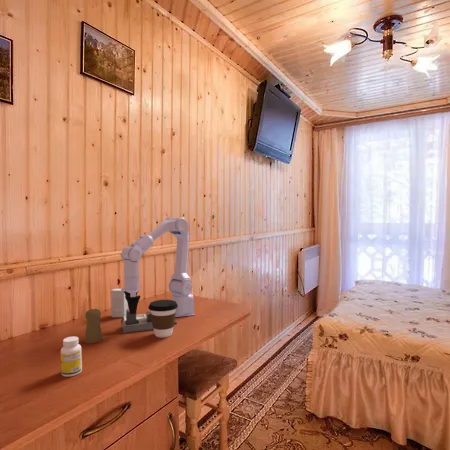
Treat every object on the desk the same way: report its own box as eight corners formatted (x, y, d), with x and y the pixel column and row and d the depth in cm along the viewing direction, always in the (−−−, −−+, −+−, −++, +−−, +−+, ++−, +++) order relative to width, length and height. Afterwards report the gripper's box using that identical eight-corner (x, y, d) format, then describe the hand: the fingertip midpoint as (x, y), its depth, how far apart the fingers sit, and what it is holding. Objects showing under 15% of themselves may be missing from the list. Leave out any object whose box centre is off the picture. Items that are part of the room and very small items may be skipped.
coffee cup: (183, 332, 125) (183, 301, 124) (165, 342, 115) (165, 308, 115) (161, 327, 130) (161, 297, 130) (142, 336, 120) (142, 304, 120)
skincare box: (128, 314, 147) (127, 288, 147) (124, 317, 143) (123, 290, 142) (115, 314, 148) (114, 288, 147) (111, 317, 143) (110, 290, 143)
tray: (145, 316, 144) (145, 314, 144) (146, 321, 137) (146, 318, 137) (123, 318, 141) (123, 316, 141) (124, 324, 134) (124, 321, 134)
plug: (126, 327, 130) (126, 308, 129) (135, 325, 131) (135, 307, 131) (126, 330, 126) (126, 311, 126) (136, 328, 127) (136, 310, 127)
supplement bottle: (65, 368, 95) (65, 335, 95) (84, 367, 96) (84, 335, 96) (57, 377, 90) (57, 342, 90) (78, 376, 91) (77, 342, 90)
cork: (106, 338, 119) (105, 308, 119) (94, 344, 113) (93, 313, 113) (92, 336, 121) (92, 306, 121) (80, 342, 115) (80, 311, 115)
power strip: (175, 320, 138) (175, 307, 138) (179, 326, 132) (178, 312, 131) (122, 327, 131) (122, 313, 131) (123, 332, 124) (123, 318, 124)
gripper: (120, 274, 133) (120, 307, 134) (121, 281, 120) (122, 317, 120) (137, 273, 136) (138, 305, 136) (141, 279, 122) (142, 315, 123)
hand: (132, 310), depth 128 cm, fingers open, 7 cm apart
